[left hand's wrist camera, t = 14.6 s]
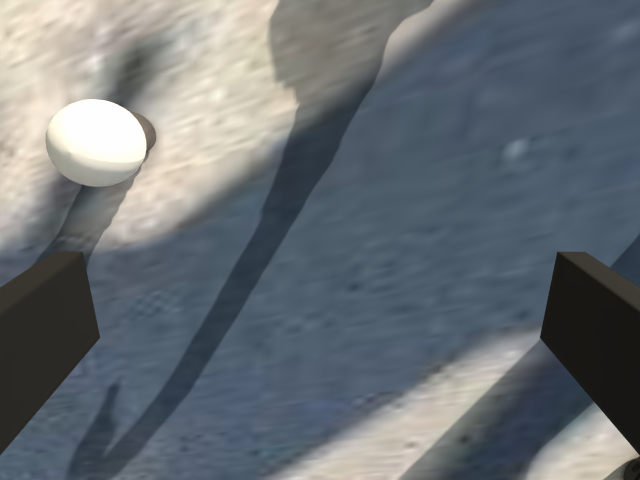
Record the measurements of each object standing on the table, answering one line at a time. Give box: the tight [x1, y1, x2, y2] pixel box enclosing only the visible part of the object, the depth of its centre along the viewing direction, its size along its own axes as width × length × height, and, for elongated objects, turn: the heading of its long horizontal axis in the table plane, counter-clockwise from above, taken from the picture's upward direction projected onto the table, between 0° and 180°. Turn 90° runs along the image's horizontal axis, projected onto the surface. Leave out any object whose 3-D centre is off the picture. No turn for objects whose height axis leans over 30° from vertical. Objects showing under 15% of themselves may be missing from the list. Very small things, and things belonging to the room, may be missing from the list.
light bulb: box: [46, 99, 156, 187], centre depth 36 cm, size 7×7×11 cm
